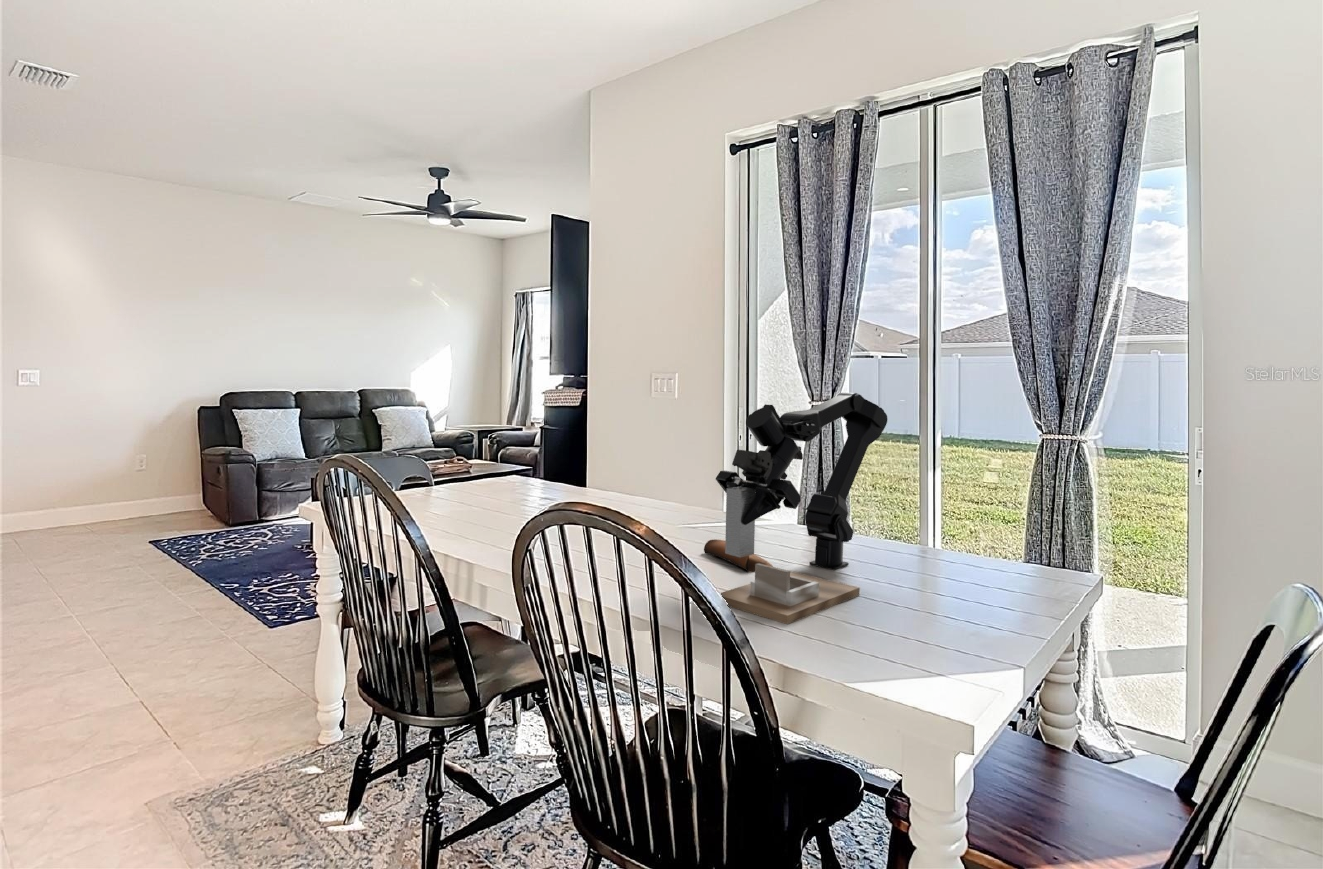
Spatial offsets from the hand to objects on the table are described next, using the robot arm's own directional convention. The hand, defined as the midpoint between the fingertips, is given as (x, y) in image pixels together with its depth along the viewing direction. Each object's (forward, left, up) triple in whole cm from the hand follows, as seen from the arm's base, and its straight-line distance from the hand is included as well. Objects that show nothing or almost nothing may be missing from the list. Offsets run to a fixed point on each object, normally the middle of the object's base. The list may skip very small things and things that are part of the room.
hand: (735, 521), depth 140 cm
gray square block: (-1, 0, -7) cm, 7 cm away
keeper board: (-3, +11, -14) cm, 18 cm away
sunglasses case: (-18, -13, -14) cm, 27 cm away
